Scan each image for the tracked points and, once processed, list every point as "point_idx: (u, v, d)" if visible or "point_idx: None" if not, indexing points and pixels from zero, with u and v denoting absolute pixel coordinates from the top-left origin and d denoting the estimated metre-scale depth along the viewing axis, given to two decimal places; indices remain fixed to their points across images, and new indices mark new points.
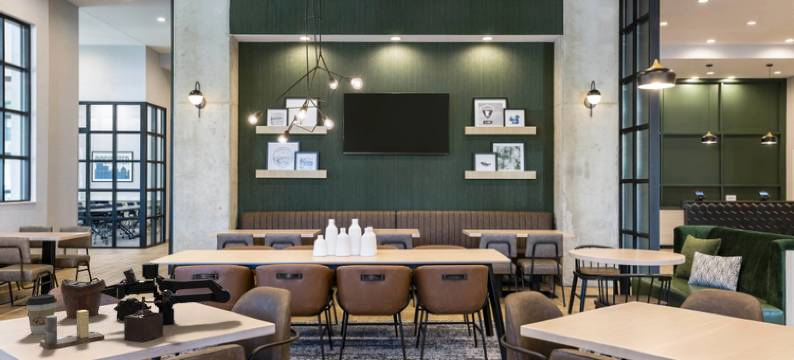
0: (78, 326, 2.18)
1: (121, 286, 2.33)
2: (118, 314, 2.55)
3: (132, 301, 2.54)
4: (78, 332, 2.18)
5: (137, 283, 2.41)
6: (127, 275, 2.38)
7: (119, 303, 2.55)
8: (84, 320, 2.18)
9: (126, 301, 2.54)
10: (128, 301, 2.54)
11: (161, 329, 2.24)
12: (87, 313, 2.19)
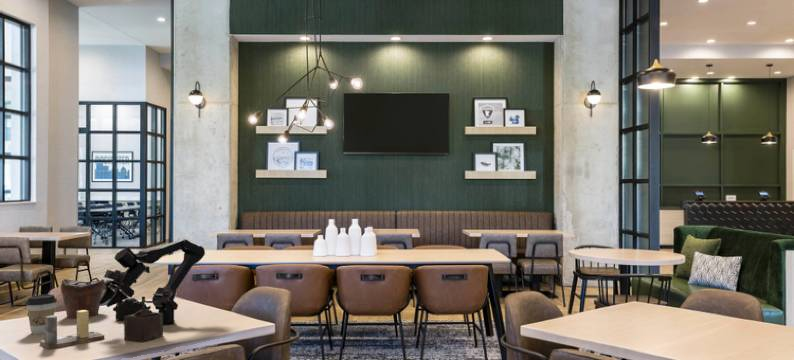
0: (78, 326, 2.18)
1: (124, 286, 2.22)
2: (117, 314, 2.54)
3: (131, 301, 2.53)
4: (78, 332, 2.18)
5: (127, 275, 2.30)
6: (115, 276, 2.25)
7: (118, 303, 2.54)
8: (84, 320, 2.18)
9: (125, 301, 2.53)
10: (127, 301, 2.53)
11: (161, 329, 2.24)
12: (87, 313, 2.19)
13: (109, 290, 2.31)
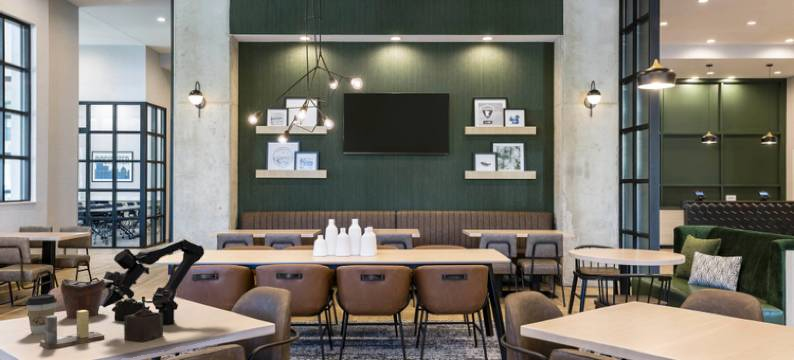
0: (78, 326, 2.18)
1: (124, 288, 2.22)
2: (116, 315, 2.53)
3: (130, 302, 2.52)
4: (78, 332, 2.18)
5: (127, 276, 2.29)
6: (115, 277, 2.24)
7: (117, 304, 2.53)
8: (84, 320, 2.18)
9: (124, 302, 2.52)
10: (126, 302, 2.52)
11: (161, 329, 2.24)
12: (87, 313, 2.19)
13: None
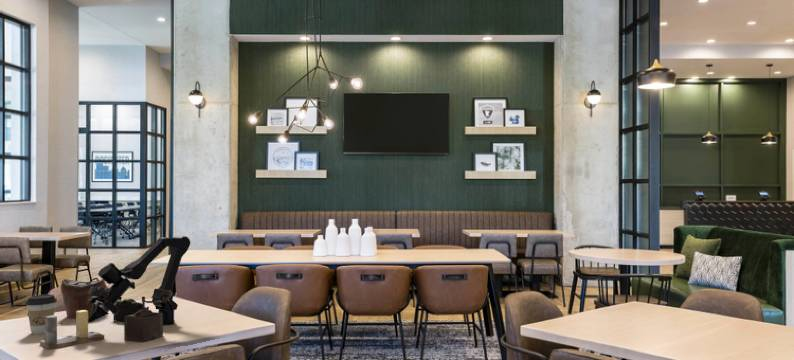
0: (78, 326, 2.18)
1: (108, 303, 2.17)
2: (115, 315, 2.52)
3: (129, 302, 2.52)
4: (78, 332, 2.18)
5: (111, 291, 2.25)
6: (99, 293, 2.20)
7: (116, 304, 2.53)
8: (84, 320, 2.18)
9: (123, 302, 2.52)
10: (125, 302, 2.51)
11: (161, 329, 2.24)
12: (87, 313, 2.18)
13: None
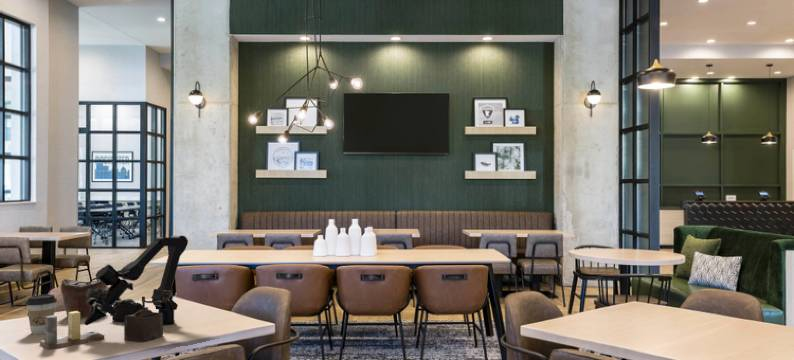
0: (70, 327, 2.16)
1: (106, 305, 2.17)
2: (114, 316, 2.52)
3: (128, 302, 2.51)
4: (70, 334, 2.16)
5: (109, 293, 2.24)
6: (97, 295, 2.19)
7: (115, 304, 2.52)
8: (76, 321, 2.16)
9: (122, 302, 2.51)
10: (124, 302, 2.51)
11: (161, 329, 2.24)
12: (79, 314, 2.16)
13: None
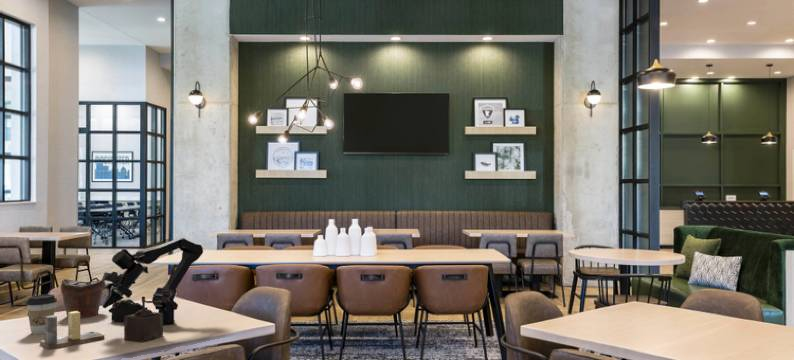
0: (70, 327, 2.16)
1: (121, 287, 2.22)
2: (113, 316, 2.51)
3: (127, 303, 2.50)
4: (70, 334, 2.16)
5: (125, 276, 2.29)
6: (112, 277, 2.24)
7: (114, 305, 2.51)
8: (76, 321, 2.16)
9: (121, 303, 2.50)
10: (123, 303, 2.50)
11: (161, 329, 2.24)
12: (79, 314, 2.16)
13: None
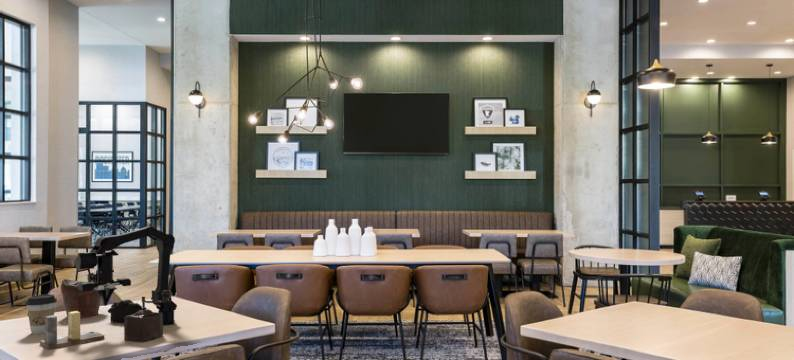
0: (70, 327, 2.16)
1: (78, 286, 2.23)
2: (112, 316, 2.50)
3: (126, 303, 2.50)
4: (70, 334, 2.16)
5: (96, 271, 2.28)
6: (88, 279, 2.29)
7: (113, 305, 2.51)
8: (76, 321, 2.16)
9: (120, 303, 2.50)
10: (122, 303, 2.49)
11: (161, 329, 2.24)
12: (79, 314, 2.16)
13: (106, 290, 2.29)
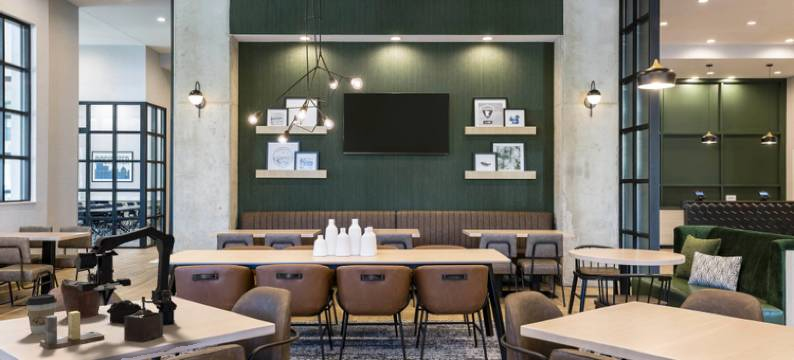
0: (70, 327, 2.16)
1: (78, 286, 2.23)
2: (111, 317, 2.50)
3: (126, 303, 2.49)
4: (70, 334, 2.16)
5: (96, 271, 2.28)
6: (88, 280, 2.29)
7: (112, 305, 2.50)
8: (76, 321, 2.16)
9: (119, 303, 2.49)
10: (121, 303, 2.49)
11: (161, 329, 2.24)
12: (79, 314, 2.16)
13: (106, 290, 2.29)
